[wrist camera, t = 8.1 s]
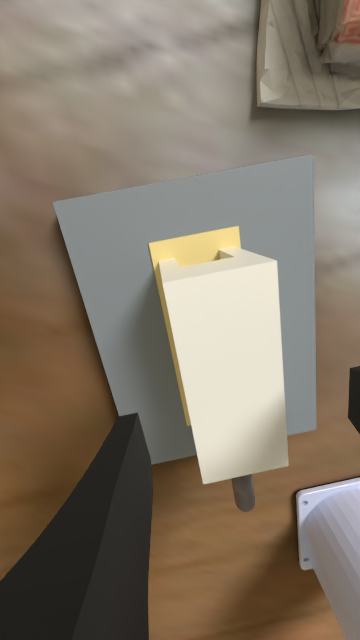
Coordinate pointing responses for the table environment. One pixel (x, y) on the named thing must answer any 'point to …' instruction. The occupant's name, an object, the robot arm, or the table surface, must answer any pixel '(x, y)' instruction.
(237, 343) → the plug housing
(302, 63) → the packaged product
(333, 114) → the table surface
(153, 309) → the board
